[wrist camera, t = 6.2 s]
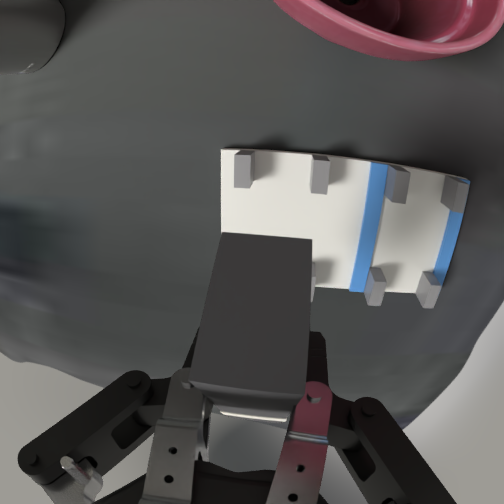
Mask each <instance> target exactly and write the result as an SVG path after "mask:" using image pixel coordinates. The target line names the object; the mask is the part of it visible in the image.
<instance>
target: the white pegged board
mask: <svg viewBox="0 0 504 504" xmlns="http://www.w3.org/2000/svg"><path fill="white" fill-rule="evenodd" d="M469 186H470V181H469V180H468V179H466V178H464V177H459V176H455V175H450V174H446V173H441V172H436V171H431V170H426V169H421V168H416V167H410V166H405V165H399V164H393V163H386V162H380V161H373V160H366V159H359V158H351V157H343V156H334V155H325V154H315V153H304V152H292V151H278V150H261V149H237V148H223V149H221V235H222V232H231V233H244V234H257V235H269V236H281V237H293V238H305V239H312V282H311V301H312V300H313V294H314V288H315V286H317V287H330V288H343V289H349V291H353V292H364V294H365V297H366V300H367V304H368V305H371V306H380V305H381V302H382V299H383V295H384V292H385V291H388V292H404V293H416V295H417V297H418V299H419V301H420V303H421V305H422V307H423V308H434V305H435V303H436V300H437V297H438V295H439V293H440V290H441V287H442V284H443V281H444V279H445V276H446V273H447V270H448V267H449V263H450V260H451V257H452V254H453V251H454V247H455V244H456V240H457V237H458V233H459V229H460V225H461V222H462V217H463V213H464V209H465V205H466V200H467V196H468V191H469Z"/></svg>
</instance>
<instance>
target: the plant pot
mask: <svg viewBox="0 0 504 504" xmlns="http://www.w3.org/2000/svg"><path fill="white" fill-rule="evenodd" d="M273 1H274V2H275V3H276V4H277V5H278V6H279V7H280V8H281V9H282V10H283V11H285V12H286V13H287V14H289V15H290V16H291V17H292V18H294V19H295V20H296V21H298V22H299V23H301V24H302V25H304V26H305V27H307V28H309V29H310V30H312V31H313V32H315V33H316V34H318V35H319V36H321V37H323V38H324V39H326V40H328V41H330V42H333V43H336V44H338V45H341V46H344V47H346V48H349V49H352V50H355V51H358V52H361V53H364V54H368V55H371V56H375V57H379V58H385V59H391V60H400V61H423V60H431V59H437V58H442V57H447V56H451V55H455V54H459V53H463V52H466V51H469V50H472V49H475V48H477V47H479V46H481V45H483V44H484V43H486V42H488V41H489V40H490V39H492V38H493V37H494V36H495V35H496V33H497V32H498V31H499V30H500V28H501V27H502V25H503V23H504V0H358V1H357V3H355V4H353V5H347V4H344V3H342V2H340V1H339V0H273Z"/></svg>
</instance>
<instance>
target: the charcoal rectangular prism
mask: <svg viewBox="0 0 504 504" xmlns="http://www.w3.org/2000/svg"><path fill="white" fill-rule="evenodd" d="M311 282H312V239H305V238H293V237H281V236H269V235H257V234H244V233H231V232H222V235H221V239H220V243H219V247H218V251H217V255H216V259H215V263H214V267H213V271H212V276H211V280H210V284H209V288H208V293H207V297H206V301H205V306H204V310H203V315H202V319H201V323H200V328H199V332H198V337H197V342H196V346H195V351H194V355H193V360H192V365H191V370H190V374H189V379H188V381H189V382H191V383H192V384H193V385H194V386H195V387H196V388H197V389H198V390H199V391H200V392H201V393H202V394H204V395H205V396H206V397H207V398H208V399H210V400H211V401H212V402H213V403H214V405H215V406H216V407H218V408H219V409H220V410H221V411H220V412H221V413H222V414H224V415H227V416H228V417H231V418H239V419H246V420H254V421H263V422H273V423H282V422H283V421H284V422H285V421H286V420H287V416H288V415H289V414H290V412H291V411H292V409H293V405H297V404H298V403H299V402H300V400H301V399H302V398H303V396H304V395H305V387H306V374H307V361H308V346H309V329H310V308H311Z"/></svg>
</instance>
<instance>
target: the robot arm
mask: <svg viewBox="0 0 504 504" xmlns="http://www.w3.org/2000/svg"><path fill="white" fill-rule="evenodd" d="M64 26H65V12H64V9H63V6H62V5H61V4H60V2H59V0H0V75H6V74H22V73H32V72H35V71H37V70H38V69H40V68H41V67H42V66H44V65H45V64H46V63H47V61H48V60H49V59H50V58H51V56H52V55H53V53H54V52H55V50H56V48H57V46H58V45H59V42H60V40H61V37H62V34H63V30H64ZM199 328H200V327H199ZM199 328H198V331H197V333H196V336H195V338H194V340H193V344H192V345H191V348H190V350H189V353H188V355H187V358H186V360H185V363H184V365H183V367H182V369H179V370H178V371H176V372H175V373H174V374H173V375H172V377H169V378H164V379H150V377H149V376H148V375H147V374H146V373H145V372H142V371H138V370H133V371H129V372H126V373H125V374H123V375H122V376H120V377H119V378H118V379H116V380H115V381H114V382H112V383H111V384H110V385H108V386H107V387H106V388H104V389H103V390H102V391H100V392H99V393H98V394H96V395H95V396H93V397H92V398H91V399H89V400H88V401H87V402H85V403H84V404H82V405H81V406H80V407H78V408H77V409H76V410H74V411H73V412H71V413H70V414H69V415H67V416H66V417H65V418H63V419H62V420H60V421H59V422H58V423H56V424H55V425H54V426H52V427H51V428H49V429H48V430H46V431H45V432H44V433H42V434H41V435H40V436H38V437H37V438H35V439H34V440H32V441H31V442H30V443H28V444H27V445H25V446H24V447H23V448H22V449H21V450H20V452H19V454H18V464H19V467H20V468H21V469H22V471H23V472H25V473H26V474H27V475H28V476H29V477H31V478H32V479H33V480H34V481H35V482H36V483H37V484H39V485H40V486H41V487H42V488H43V489H44V491H45V492H46V493H47V495H48V496H49V497H50V498H51V500H52V501H53V502H54V504H328V503H327V501H326V500H325V499H324V498H323V497H322V496H321V495H320V493H319V491H320V486H321V481H322V476H323V471H324V465H325V460H326V453H327V447H328V445H330V446H333V447H335V449H336V451H337V453H338V454H339V456H340V458H341V459H342V461H343V463H344V464H345V466H346V468H347V469H348V471H349V473H350V474H351V476H352V478H353V479H354V481H355V482H356V484H357V486H358V487H359V489H360V491H361V492H362V494H363V496H364V497H365V499H366V501H367V502H368V504H457V503H456V502H455V501H454V499H453V498H452V497H451V495H450V494H449V493H448V491H447V490H446V488H445V487H444V486H443V484H442V483H441V482H440V480H439V479H438V478H437V476H436V475H435V474H434V472H433V471H432V469H431V468H430V467H429V465H428V464H427V463H426V461H425V460H424V459H423V458H422V456H421V455H420V453H419V452H418V451H417V449H416V448H415V447H414V445H413V444H412V443H411V441H410V440H409V439H408V437H407V436H406V435H405V433H404V432H403V431H402V429H401V428H400V427H399V425H398V424H397V423H396V421H395V420H394V419H393V417H392V416H391V415H390V413H389V412H388V411H387V409H386V408H385V407H384V405H383V404H382V403H381V402H380V401H378V400H377V399H375V398H371V397H363V398H359V399H357V400H356V401H355V402H352V401H349V400H345V399H342V398H340V397H338V396H336V395H335V394H334V393H333V392H332V391H331V389H330V388H329V384H328V370H327V358H326V342H325V339H324V337H323V336H322V334H321V333H320V332H312V331H310V329H309V346H308V361H307V374H306V387H305V395H304V396H303V398H302V399H301V400H300V402H299V403H298V404H297V405H293V409H292V411H291V412H290V421H289V425H288V429H287V433H286V436H285V440H284V444H283V448H282V451H281V455H280V458H279V462H278V465H277V468H276V471H274V470H259V471H249V472H233V471H230V470H227V469H225V468H222V467H220V466H217V465H215V464H213V463H210V462H208V446H209V433H210V421H211V411H212V408H213V404H214V403H213V402H212V401H211V400H210V399H208V398H207V397H206V396H205V395H204V394H202V393H201V392H200V391H199V390H198V389H197V388H196V387H195V386H194V385H193V384H192V383H191V382H189V381H188V379H189V374H190V370H191V365H192V360H193V355H194V351H195V346H196V342H197V337H198V332H199ZM153 433H154V437H153V443H152V447H151V452H150V457H149V463H148V468H147V473H146V474H144V475H142V476H141V477H139V478H137V479H136V480H134V481H132V482H130V483H129V484H127V485H125V486H124V487H122V488H120V489H118V490H116V491H115V492H113V493H111V494H109V495H107V496H105V497H103V498H101V499H100V500H97V501H95V497H96V495H97V494H98V493H99V492H100V490H101V489H102V486H103V479H102V476H103V475H105V474H106V473H107V472H108V471H109V470H111V469H112V468H113V467H114V466H116V465H117V464H118V463H119V462H120V461H122V460H123V459H124V458H125V457H126V456H127V455H129V454H130V453H131V452H132V451H133V450H135V449H136V448H137V447H138V446H139V445H140V444H141V443H143V442H144V441H145V440H146V439H147V438H148V437H149V436H151V435H152V434H153ZM94 501H95V502H94Z"/></svg>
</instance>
